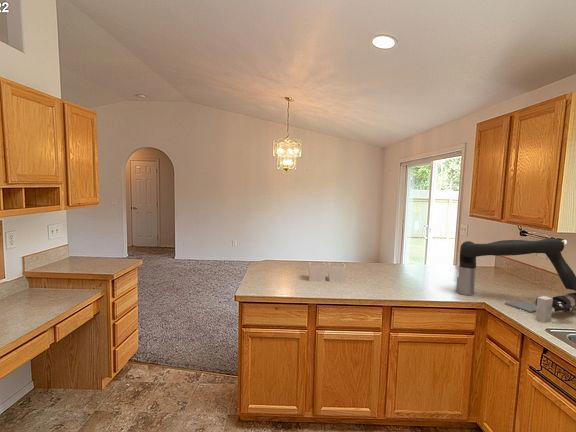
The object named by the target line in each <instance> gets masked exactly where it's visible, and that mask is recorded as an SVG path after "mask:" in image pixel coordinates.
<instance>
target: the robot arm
mask: <svg viewBox="0 0 576 432" xmlns="http://www.w3.org/2000/svg"><path fill="white" fill-rule="evenodd" d="M564 249H565V244H564V242H563V241H562V240H561V239H558V238H555V237H547V238H543V239H540V240H539V239H537V240H526V239H524V240H523V239H507V240H505V239H504V240H497V241H493V242H488V243H475V242H472V241H470V240H469V241H468V240H467V241H464V242H463V243H462V244H460V247H459V265H458V266H459V269H458V276H456V287H455V288H456V290H455V292H457V293H458V294H461V295H464V296H474V294H475V286H476V285H475V284H476V271H477V257H484V256H495V257H496V256H498V257H500V256H502V257H503V256H505V257H508V256H522V255H529V254H545V255H546V256H547V259H549V260H550V263H551V264H552V265H553V267H554V269H555V271H556V273H557V275H558V277H559V279H560V280H561V283H562V285H563V287H564V288H565V289H567V290H571V291H575V292H569V293H566V294H561V295H556V296H553V297H552V298H553V302H552V309H554V310H553V312H555V313H557V312H563V313H567V314H568V313H570V312H573V311H572V310H573V308H576V274H575V272H574V270H573V269H572V267H570V265H569V264H568V263H567V261H566V260H565V259H564V256H563V254H562V251H564ZM534 304H535V305H536V306H537V298H536V300H535V303H534Z"/></svg>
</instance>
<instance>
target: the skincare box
mask: <svg viewBox="0 0 576 432" xmlns="http://www.w3.org/2000/svg"><path fill="white" fill-rule="evenodd" d="M536 299H537V307H536V312H535V318H534V319H535V320H536V319H537V320H536V321H539V322H542V323H546V322H551V321H552V312H553V307H552V302H553V297H549V296H546V295H542V296H537V298H536Z"/></svg>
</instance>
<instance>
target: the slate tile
mask: <svg viewBox="0 0 576 432" xmlns="http://www.w3.org/2000/svg"><path fill="white" fill-rule="evenodd" d="M504 305H506V306H508V307H510V308H511V307H512V308H515V309H516V310H520V309H521V311H523V310H524V311H523V312H526V311H527V312H526V313H528V314H529V313H530V314H533V313H536V307H537V306H536V304H535V303H532V302H528V301H525V300H522V299H515V300H511V301H506V302H504ZM532 312H533V313H532Z"/></svg>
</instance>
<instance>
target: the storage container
mask: <svg viewBox="0 0 576 432" xmlns="http://www.w3.org/2000/svg"><path fill="white" fill-rule="evenodd" d="M308 266H309V267H308V281H309V282H326V273H328V274H327V278H328V281H329V282H332V283H334V282H335V283H346V278H347V277H346V274H347V273H346V272H347V267H346V264H345V263H344V262H342V263H341V266H336V265H335V266H334V265H333V266H331V262H328V270H327V269H326V268H327V266H326V263H325V262H322V265H312V262H311V261H309V265H308ZM326 271H328V272H326Z"/></svg>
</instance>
